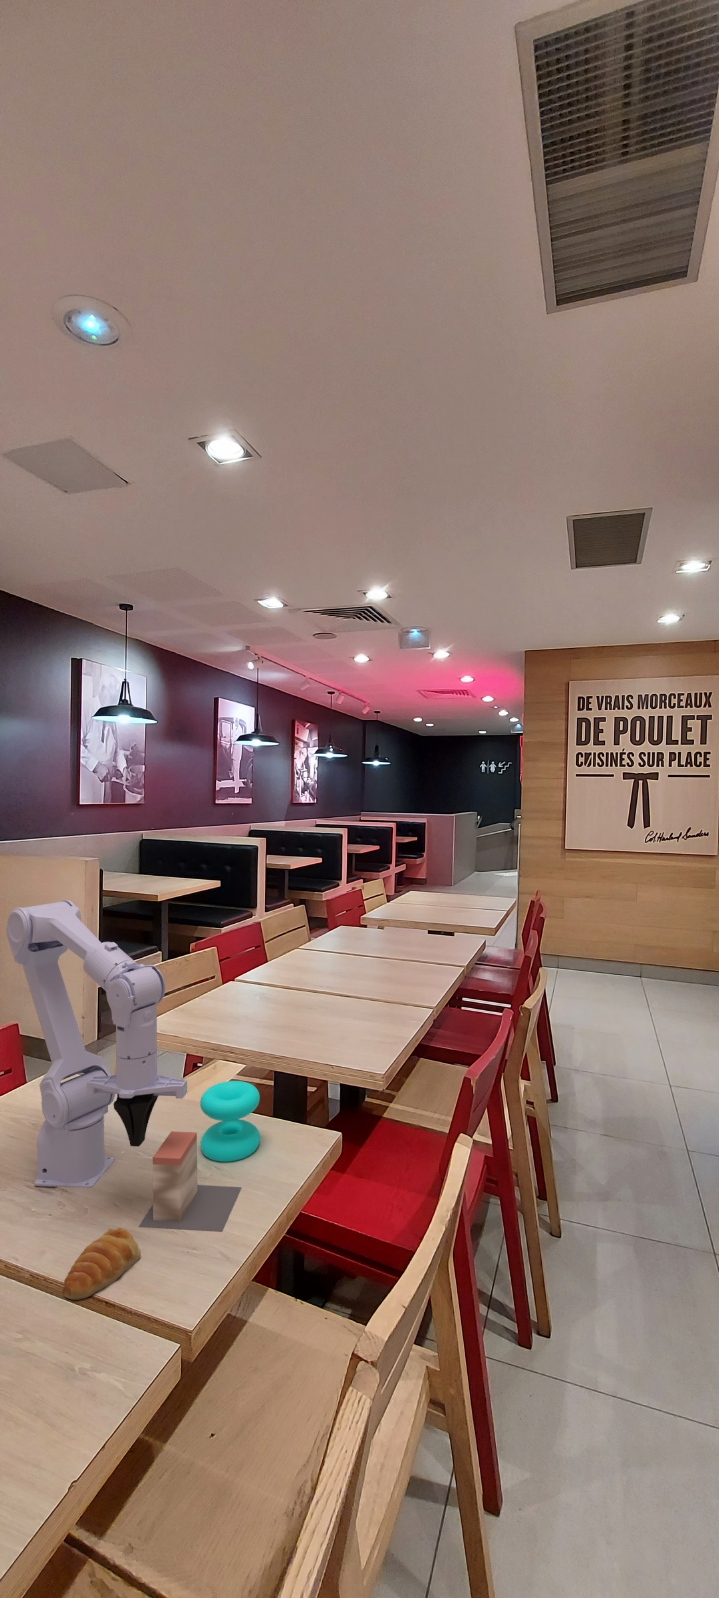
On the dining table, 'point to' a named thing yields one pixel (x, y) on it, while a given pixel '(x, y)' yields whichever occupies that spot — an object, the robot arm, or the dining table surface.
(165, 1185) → the block
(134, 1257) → the pastry
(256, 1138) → the donuts
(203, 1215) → the mat
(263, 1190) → the dining table surface
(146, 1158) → the dining table surface
